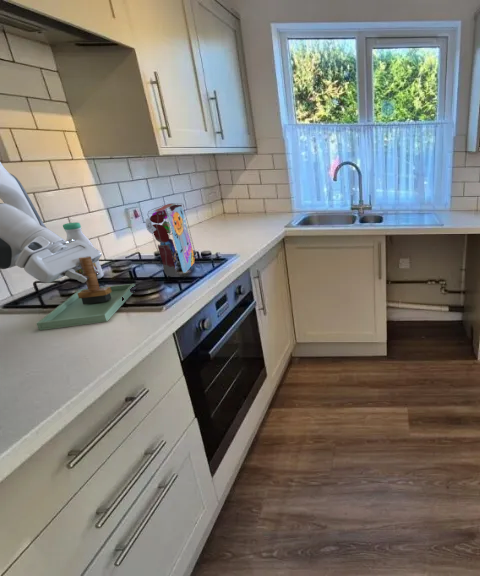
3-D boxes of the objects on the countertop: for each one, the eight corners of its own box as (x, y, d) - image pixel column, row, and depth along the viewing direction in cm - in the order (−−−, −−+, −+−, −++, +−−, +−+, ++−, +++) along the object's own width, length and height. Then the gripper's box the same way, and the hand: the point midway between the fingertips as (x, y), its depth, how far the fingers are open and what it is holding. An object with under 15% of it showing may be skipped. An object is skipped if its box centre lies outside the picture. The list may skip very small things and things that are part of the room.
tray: (39, 330, 95) (35, 323, 94) (81, 295, 116) (79, 289, 115) (107, 321, 99) (104, 314, 98) (136, 289, 120) (134, 283, 119)
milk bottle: (85, 275, 133) (65, 221, 125) (108, 273, 134) (90, 220, 126) (72, 283, 126) (50, 226, 118) (97, 281, 127) (77, 225, 119)
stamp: (80, 304, 106) (66, 259, 103) (87, 301, 110) (74, 257, 106) (108, 301, 108) (95, 257, 105) (113, 297, 112) (101, 254, 108)
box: (174, 290, 118) (154, 216, 108) (154, 292, 117) (132, 217, 107) (198, 265, 140) (183, 202, 131) (182, 266, 140) (165, 203, 130)
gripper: (69, 245, 114) (111, 272, 118) (9, 266, 95) (60, 299, 99) (79, 230, 112) (120, 259, 116) (18, 249, 93) (70, 283, 97)
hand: (92, 277), depth 107 cm, fingers closed on stamp, 3 cm apart
